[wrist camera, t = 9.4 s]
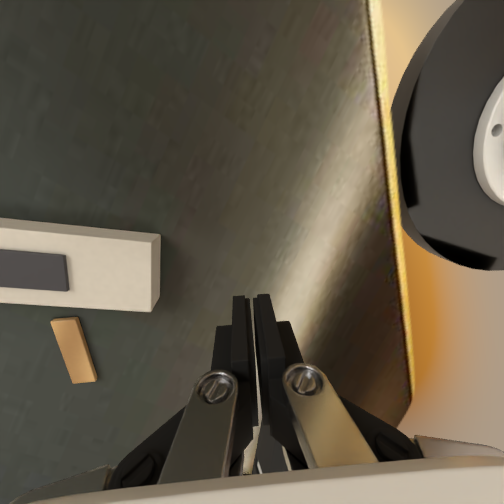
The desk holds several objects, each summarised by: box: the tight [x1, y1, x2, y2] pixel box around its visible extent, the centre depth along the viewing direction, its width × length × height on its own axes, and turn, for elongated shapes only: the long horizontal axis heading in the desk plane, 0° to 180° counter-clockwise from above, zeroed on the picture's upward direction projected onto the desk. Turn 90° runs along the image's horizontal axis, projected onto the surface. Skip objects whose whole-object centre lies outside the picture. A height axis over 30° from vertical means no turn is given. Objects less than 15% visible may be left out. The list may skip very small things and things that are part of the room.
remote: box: [0, 218, 161, 312], centre depth 15 cm, size 16×5×2 cm, turn 82°
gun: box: [243, 417, 288, 476], centre depth 22 cm, size 3×16×10 cm, turn 163°
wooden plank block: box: [51, 317, 98, 384], centre depth 19 cm, size 2×6×1 cm, turn 3°
